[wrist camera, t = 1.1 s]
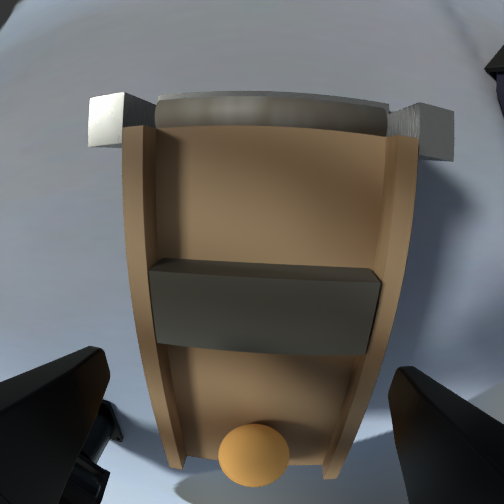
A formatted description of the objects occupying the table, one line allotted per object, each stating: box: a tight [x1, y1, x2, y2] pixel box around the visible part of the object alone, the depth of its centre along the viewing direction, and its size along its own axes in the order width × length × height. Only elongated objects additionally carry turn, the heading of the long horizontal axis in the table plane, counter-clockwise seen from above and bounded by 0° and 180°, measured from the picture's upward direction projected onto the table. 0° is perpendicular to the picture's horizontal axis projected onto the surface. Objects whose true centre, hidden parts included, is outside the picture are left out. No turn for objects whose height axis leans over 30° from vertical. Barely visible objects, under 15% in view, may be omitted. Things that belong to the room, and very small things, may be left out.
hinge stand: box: [88, 91, 454, 162], centre depth 13 cm, size 5×14×8 cm, turn 88°
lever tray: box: [122, 96, 418, 479], centre depth 12 cm, size 19×10×3 cm, turn 178°
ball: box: [218, 424, 290, 487], centre depth 12 cm, size 4×4×4 cm
